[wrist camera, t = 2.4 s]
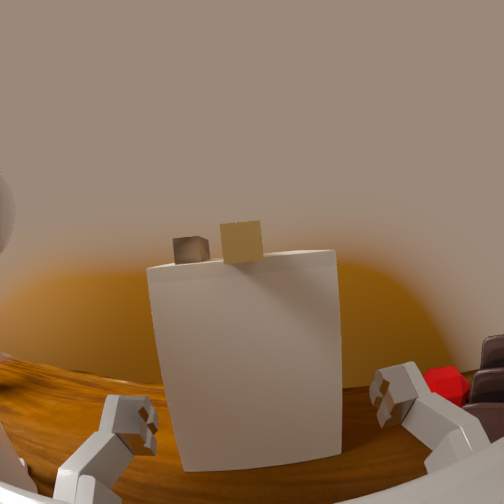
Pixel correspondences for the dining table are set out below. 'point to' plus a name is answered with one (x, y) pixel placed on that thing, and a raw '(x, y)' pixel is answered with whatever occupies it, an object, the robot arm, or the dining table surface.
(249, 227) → the ochre bar
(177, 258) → the walnut bar
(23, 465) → the robot arm
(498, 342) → the letter holder
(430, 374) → the ball
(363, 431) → the dining table surface
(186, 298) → the off-white stand
